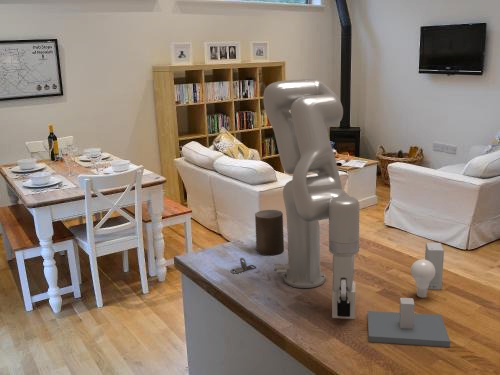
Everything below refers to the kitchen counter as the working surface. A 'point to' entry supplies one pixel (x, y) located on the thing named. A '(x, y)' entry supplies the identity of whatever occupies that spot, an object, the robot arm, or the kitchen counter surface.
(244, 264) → the strap clip
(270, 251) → the pillar candle
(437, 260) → the skincare box
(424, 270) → the lightbulb
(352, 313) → the cream block
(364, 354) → the kitchen counter surface
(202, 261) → the kitchen counter surface
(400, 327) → the post board
